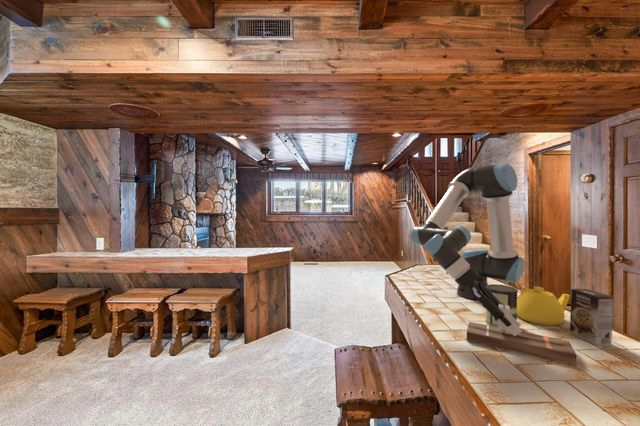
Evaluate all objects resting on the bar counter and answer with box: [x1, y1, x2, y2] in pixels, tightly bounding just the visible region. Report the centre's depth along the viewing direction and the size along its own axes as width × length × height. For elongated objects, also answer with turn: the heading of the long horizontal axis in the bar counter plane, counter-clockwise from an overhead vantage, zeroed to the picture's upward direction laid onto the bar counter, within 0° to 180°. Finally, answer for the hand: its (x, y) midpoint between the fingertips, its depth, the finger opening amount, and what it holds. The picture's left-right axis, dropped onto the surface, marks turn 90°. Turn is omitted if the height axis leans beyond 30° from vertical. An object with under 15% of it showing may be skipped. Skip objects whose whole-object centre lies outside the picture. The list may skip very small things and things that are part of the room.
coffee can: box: [485, 284, 519, 327], centre depth 111 cm, size 10×10×14 cm
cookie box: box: [569, 288, 615, 346], centre depth 99 cm, size 9×6×16 cm
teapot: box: [517, 286, 571, 326], centre depth 118 cm, size 20×19×13 cm
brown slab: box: [466, 321, 577, 366], centre depth 94 cm, size 10×28×3 cm, turn 59°
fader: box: [498, 304, 510, 333], centre depth 96 cm, size 4×3×9 cm
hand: (517, 330), depth 94 cm, fingers open, 5 cm apart
